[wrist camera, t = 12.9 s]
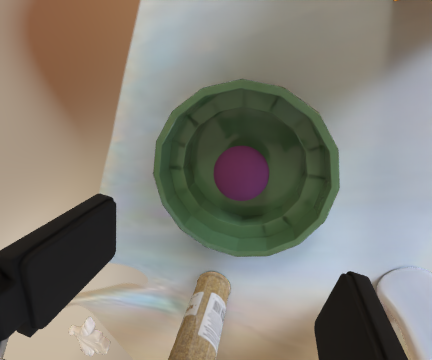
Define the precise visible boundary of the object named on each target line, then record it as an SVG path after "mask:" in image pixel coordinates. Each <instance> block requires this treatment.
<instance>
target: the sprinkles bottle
mask: <svg viewBox="0 0 432 360" xmlns="http://www.w3.org/2000/svg"><path fill="white" fill-rule="evenodd" d="M230 291H231V287H230V283H229V281H228V280H227V279H226V278H225V277H224V276H223V275H222V274H219V273H217V272H206V273H203V274H202V275H200V277H199V278H198V280H197V285H196V288H195V291H194V293H193V296H192V298H191V300H190V302H189V305H188V308H187V310H186V313H185V316H184V318H183V321H182V323H181V326H180V329H179V331H178V334H177V337H176V340H175V343H174V346H173V348H172V350H171V353H170V356H169V358H168V360H215V358H216V355H217V350H218V346H219V341H220V336H221V332H222V327H223V322H224V317H225V312H226V304H227V299H228V296H229V294H230Z"/></svg>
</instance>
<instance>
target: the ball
mask: <svg viewBox="0 0 432 360" xmlns="http://www.w3.org/2000/svg"><path fill="white" fill-rule="evenodd" d="M213 175H214V181H215V184H216V186H217V188H218V189H219V191H220V192H221V193H222V194H223V195H225V196H226V197H228V198H230V199H232V200H236V201H247V200H250V199H253V198H255V197H257V196H258V195H259V194H260V193H261V192H262V191H263V190H264V189H265V187H266V185H267V183H268V179H269V167H268V164H267V161H266V159H265V158H264V156H263V155H262V154H261V153H260V152H259V151H257V150H256V149H254V148H252V147H249V146H234V147H231V148H229V149H227V150H226V151H224V152H223V153H222V154H221V155H220V156H219V157H218V159H217V161H216V163H215V166H214V172H213Z"/></svg>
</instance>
